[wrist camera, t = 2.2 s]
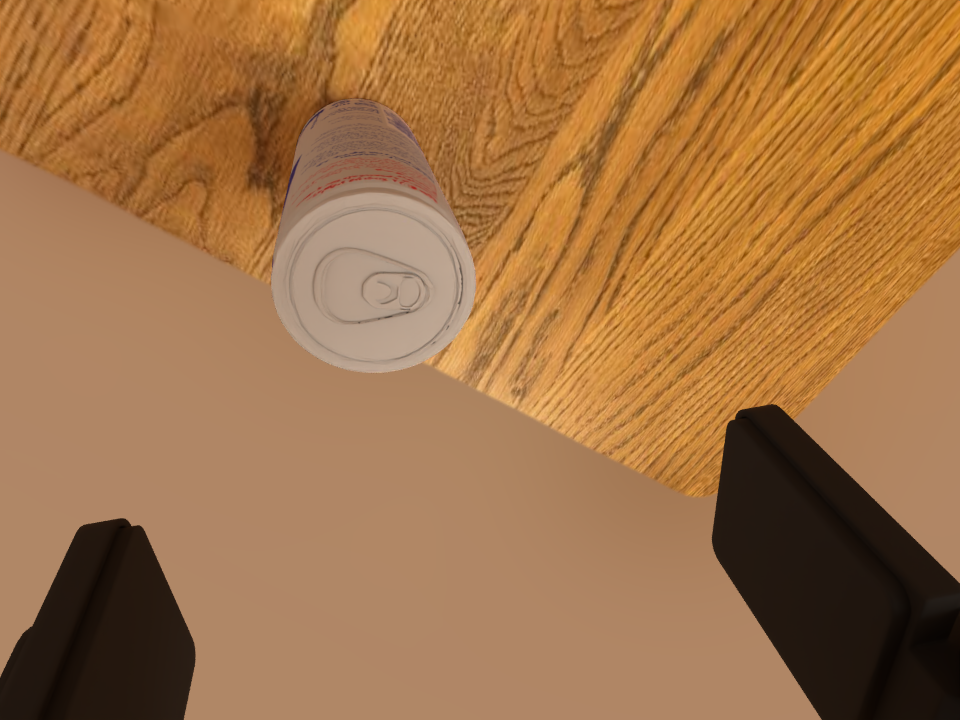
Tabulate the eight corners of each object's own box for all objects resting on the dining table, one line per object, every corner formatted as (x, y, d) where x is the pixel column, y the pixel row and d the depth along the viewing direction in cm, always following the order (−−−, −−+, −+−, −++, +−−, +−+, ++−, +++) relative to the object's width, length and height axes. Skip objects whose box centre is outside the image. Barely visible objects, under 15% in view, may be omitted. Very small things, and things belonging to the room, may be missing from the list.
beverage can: (269, 138, 30) (221, 259, 17) (378, 71, 29) (412, 146, 17) (340, 241, 33) (345, 412, 20) (441, 182, 32) (511, 319, 20)
